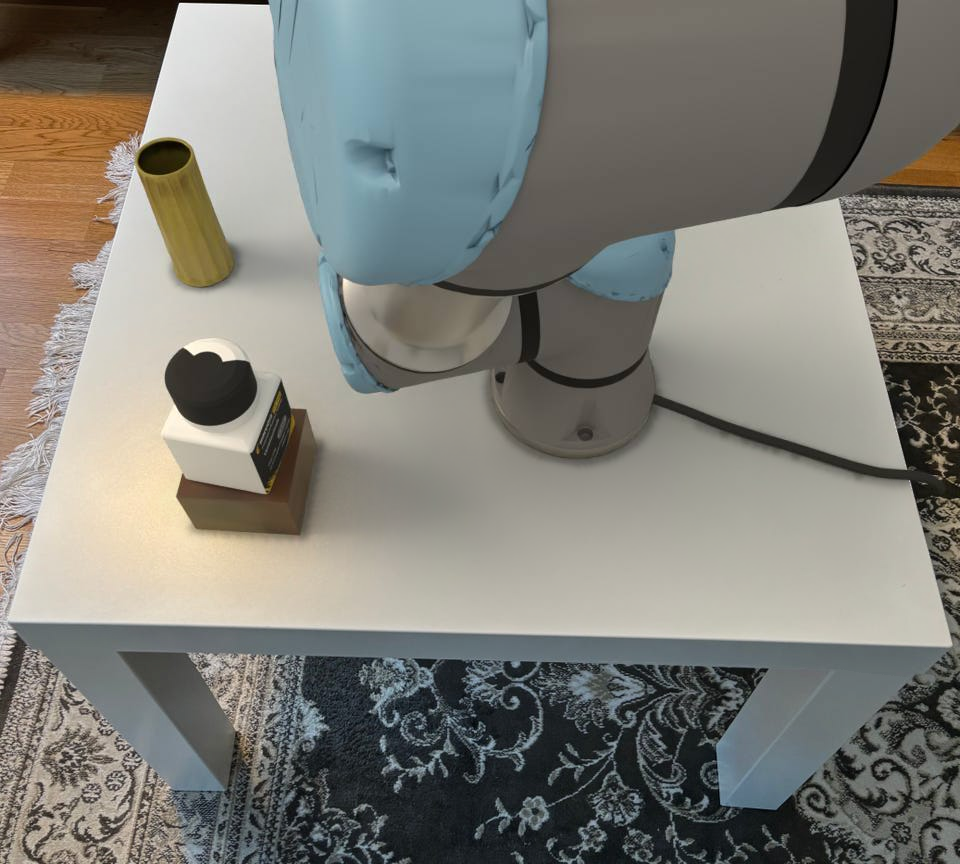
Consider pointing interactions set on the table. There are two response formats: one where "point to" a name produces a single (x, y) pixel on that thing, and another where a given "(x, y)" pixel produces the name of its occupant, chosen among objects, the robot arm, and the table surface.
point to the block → (253, 509)
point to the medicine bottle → (226, 417)
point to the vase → (184, 211)
